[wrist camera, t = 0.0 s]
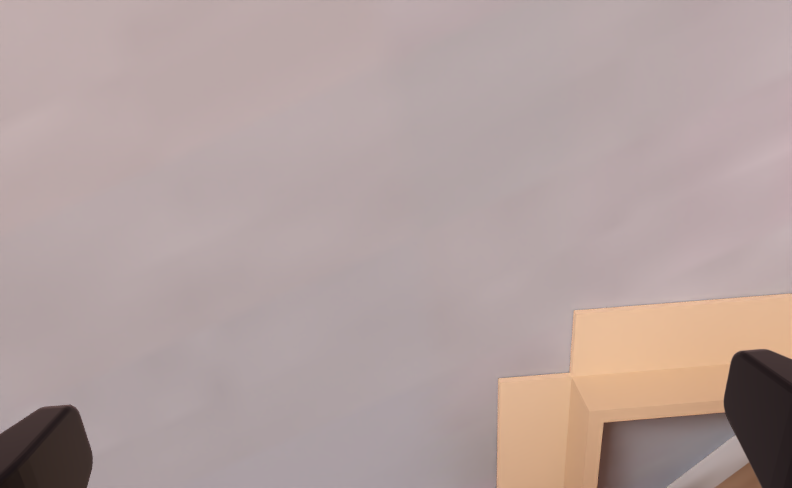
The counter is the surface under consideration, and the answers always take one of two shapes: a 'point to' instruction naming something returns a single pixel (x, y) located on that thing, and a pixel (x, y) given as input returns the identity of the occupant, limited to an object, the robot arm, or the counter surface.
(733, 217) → the counter surface
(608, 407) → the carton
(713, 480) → the walnut box
